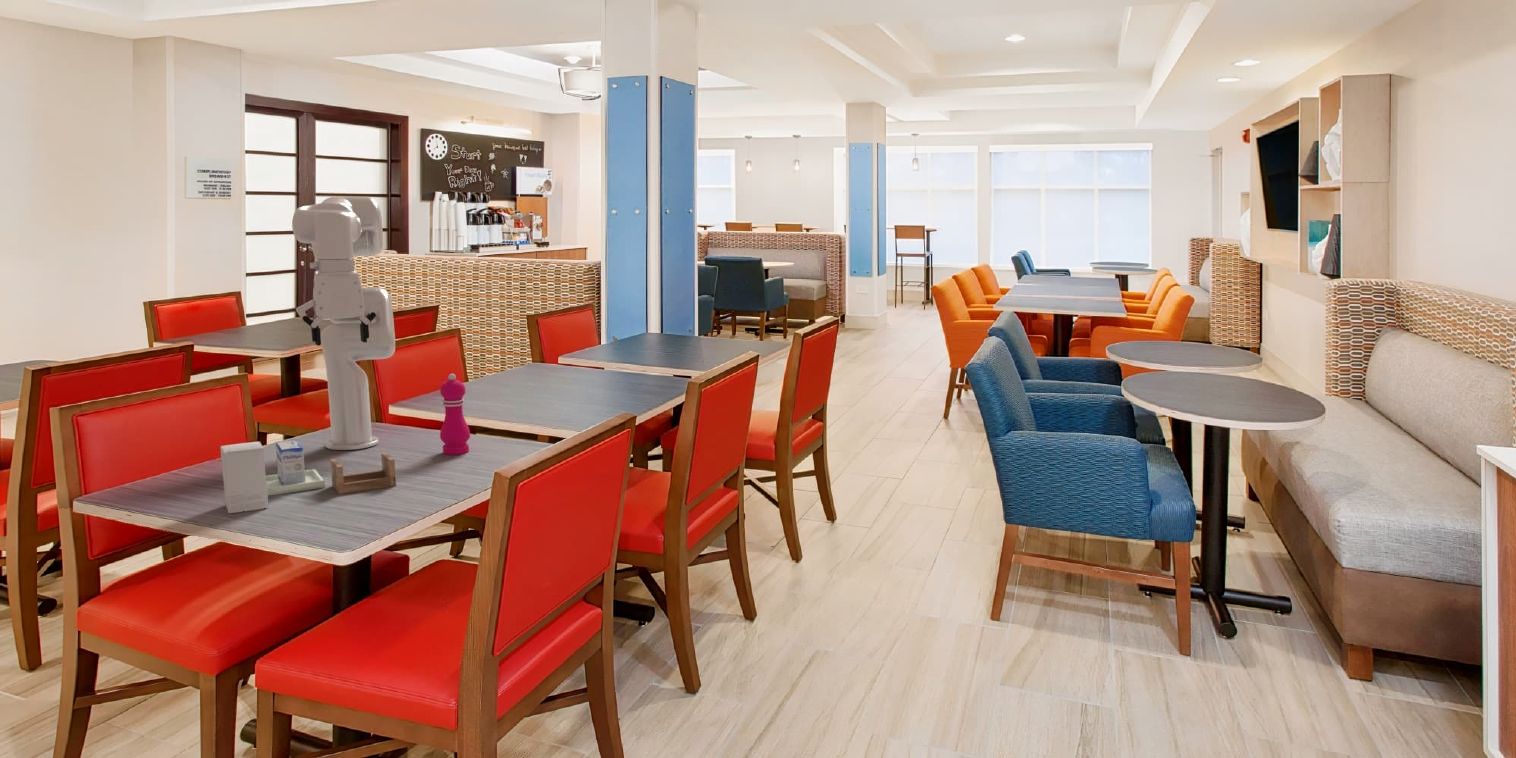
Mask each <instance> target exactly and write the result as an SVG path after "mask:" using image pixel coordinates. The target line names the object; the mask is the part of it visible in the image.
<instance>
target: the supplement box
mask: <svg viewBox="0 0 1516 758" xmlns="http://www.w3.org/2000/svg"><path fill="white" fill-rule="evenodd" d="M220 458H221V459H220V461H221V467H222V468H221V471H222V480H223V489H224V490H223V492H224V499H225V507H226V509H227V513H228V514H234V513H243V511H244V512H248V511H249V512H250V511H257V510H263V509H264V508H265V509H268V508H269V498H268V497H269V496H268V494H267V483H266V476H267V475H266V464H265V451H264V447H263V445H262V443H261V441H251V442H241V443H235V444H226V445H220Z"/></svg>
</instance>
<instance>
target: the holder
mask: <svg viewBox="0 0 1516 758" xmlns="http://www.w3.org/2000/svg"><path fill="white" fill-rule="evenodd" d="M380 455H381V456H380V457H381V470H372V471H365V472H359V473H352V474H345V475H344V468H343V467H344V466H343V465H342V464H341V463H340V462H339V461H338V460H337V459H336V458H331V459H330V460H329V461H330V471H331V484H332V487H333V489H335V491H336V492H337V493H338V494H339V495H343V494H349V493H357V492H363V491H369V490H370V489H371V490H376V489H383V488H390V487H396V486H397V483H396V482H397V481H396V480H397V479H396V466H395V463H396V462H395V458H394V457H393V456H391V455H390V454H389V453H387V451H385V452H384V451H383V452H381V454H380Z"/></svg>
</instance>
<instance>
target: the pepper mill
mask: <svg viewBox="0 0 1516 758" xmlns="http://www.w3.org/2000/svg"><path fill="white" fill-rule="evenodd" d="M456 378H457V377H456V374H455V373H450V374H449V375H448V380H446V381H444V382H442V384H441V385H440V388H439V392H440V395H441V397H442V398H443V400H442V402H443V404H442V406H444V411H445V413H444V415H445V416H444V419H443V424H442V425H441V428H440V431H439V432H440V433H439V438H440V440H441V442H443V443H444V444H443V445H442V452H443V453H442V454H444V455H449V456H451V455H452V456H457V455H463V454H467V453H469V451H470V445H469V443H467V442H468V440H469V439H470V438H471V432H470V431H471V430H470V428H469V425H468V423H467V422H466V420H465V416H464V413H463V411H464V410H463V405H464V404H465V402H464V400H465V399H464V398H463V397H464V396H465V394H466V386H465V384H464V383H463V382H462V381H461V380H458V379H456Z"/></svg>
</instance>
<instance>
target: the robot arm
mask: <svg viewBox="0 0 1516 758" xmlns="http://www.w3.org/2000/svg"><path fill="white" fill-rule="evenodd" d="M291 221H292V223H291V225H292V226H291V228H292V232H293V234H294V238H295V239H296V240H297V241H298V242H299V243H301V244H311V249H312V253H313V256H314V258H315V261H313V262H310V263H309V267H310V269H311V270H312V269H313V270H316V272H317V273H314V277H313V286H312V287H313V288H312V291H313V292H312V299H311V300H308V301H307V302H305V303H303V304H302V305H300V306H297V307H296V309H295V310H296V312H297V314H298V315H299V317H300V318H301V320H302V321H303V322H304V323H306V324H307V325H309V327H310V328H311V341H312V343H314V345H316V346H319V347H320V346H321V350H322V351H321V352H322V355H323V359H324V364H325V369H326V379H327V392H328V404H329V419H330V430H331V431H330V432H331V439H328V440H327V441H326V442H325V448H327V449H329V450H334V451H353V450H354V451H355V450H361V449H366V448H371V447H375V446H376V445H378V444H379V438H378V437H377V436H375V435H373V433H372V419H371V403H370V389H369V378H368V375H367V373H366V372H365V370H364V369H363V368H361V366H360V365H358V363H356V362H359V361H367V360H368V361H369V360H384V359H389V358H391V357H393V355H394V353H395V351H396V333H395V322H394V312H393V304H392V298H391V296H390V293H389V292H388V291H387V290H386V289H385V288H382V287H363V286H362V281H361V277H360V274H359V272H358V271H357V270H356V269H355V262H354V257H356V256H357V257H358V256H359V257H360V256H361V257H363V256H365V257H367V256H375V255H376V256H377V255H379V254H380V253H381V251H383V247H384V233H383V232H384V231H383V217H382V212H381V208H380V206H379V204H378V202H377V201H376V200H375V199H373V198H371V197H369V196H330V197H328V198H325V199H324V200H323V201H321V202H320V203H315V204H309V205H304V206H303V205H302V206H298V207H297V208H296V209H295V211H294V213H293V216H292V220H291ZM311 308H312V309H313V310H312V311H313V314H314V316H313V318H312V319H311V318H310V317H309V316H308V314H307V313H306V311H308V310H309V309H311ZM323 320H329V321H330V322H331V323H333V324H330V325H327V326H326V327H324V328H323V330H321V328H320V327H319V324H321V322H322V321H323Z"/></svg>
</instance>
